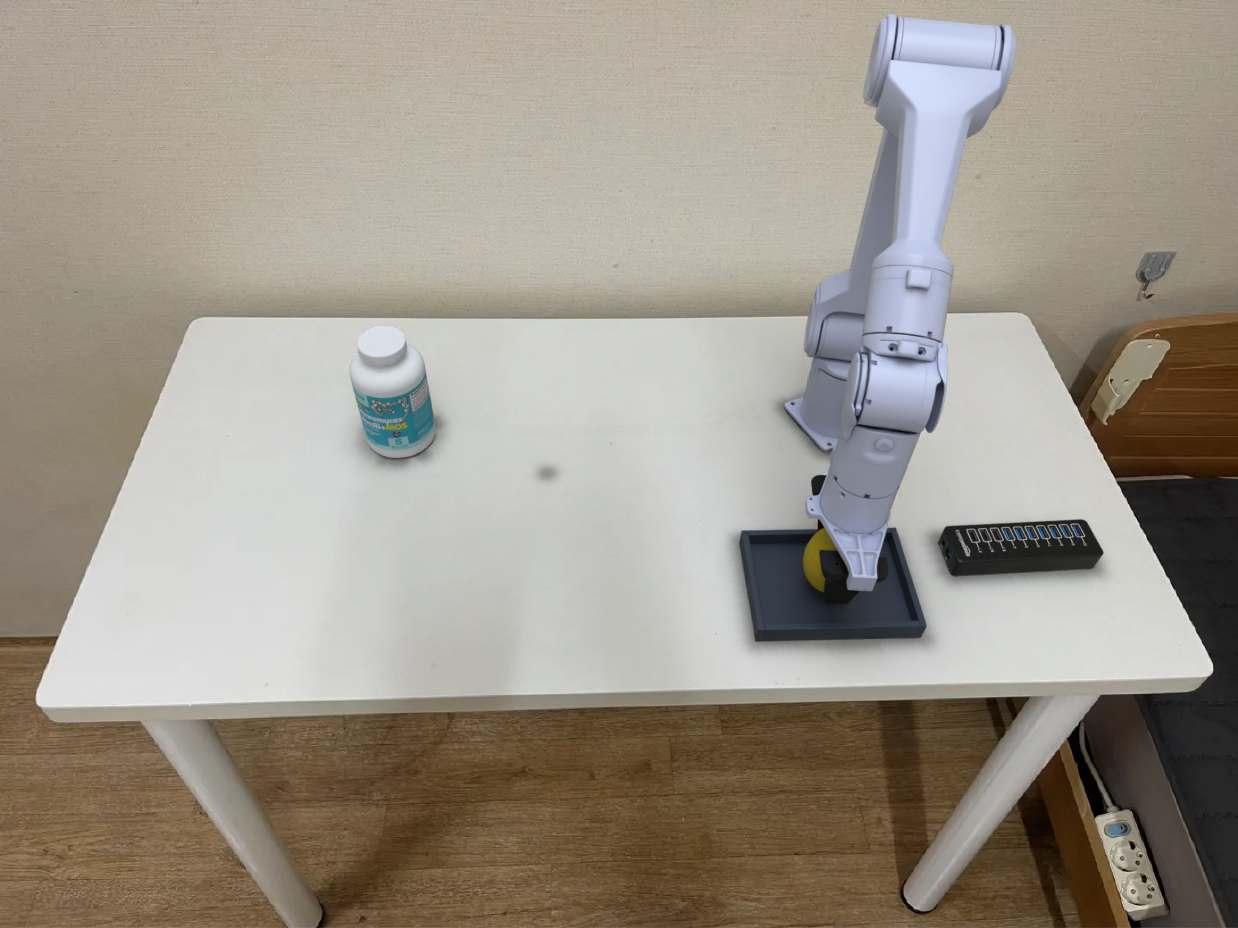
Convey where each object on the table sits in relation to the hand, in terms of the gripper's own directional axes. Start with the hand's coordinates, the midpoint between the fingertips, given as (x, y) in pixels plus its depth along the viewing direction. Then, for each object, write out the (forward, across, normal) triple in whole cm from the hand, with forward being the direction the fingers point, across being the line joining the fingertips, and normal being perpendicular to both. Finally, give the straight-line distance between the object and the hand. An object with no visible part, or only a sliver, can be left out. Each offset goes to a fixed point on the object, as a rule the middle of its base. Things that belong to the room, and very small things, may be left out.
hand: (832, 570), depth 82 cm
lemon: (+3, 0, 0) cm, 3 cm away
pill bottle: (+3, -17, -44) cm, 47 cm away
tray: (+3, 0, 0) cm, 3 cm away
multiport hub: (+3, -5, +19) cm, 20 cm away
